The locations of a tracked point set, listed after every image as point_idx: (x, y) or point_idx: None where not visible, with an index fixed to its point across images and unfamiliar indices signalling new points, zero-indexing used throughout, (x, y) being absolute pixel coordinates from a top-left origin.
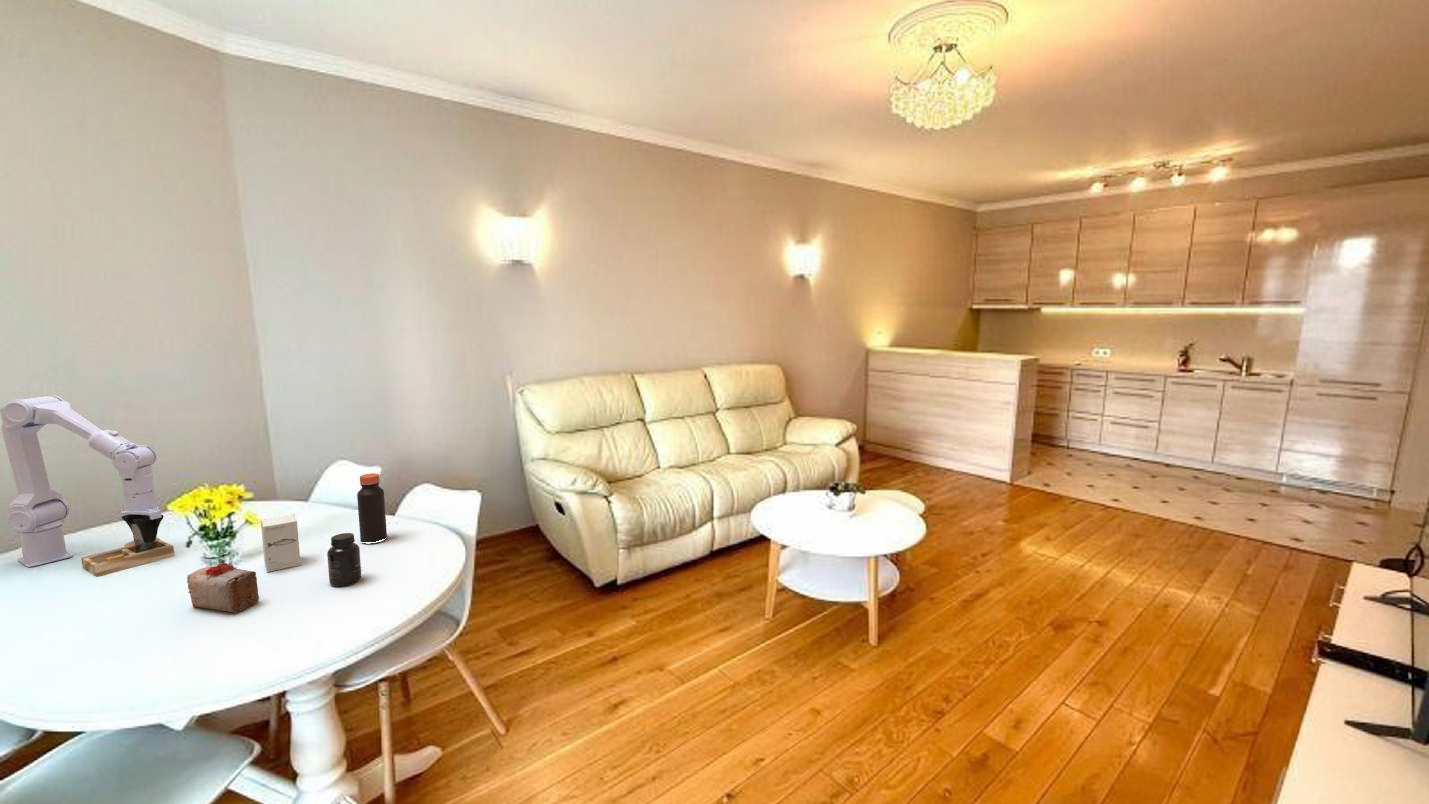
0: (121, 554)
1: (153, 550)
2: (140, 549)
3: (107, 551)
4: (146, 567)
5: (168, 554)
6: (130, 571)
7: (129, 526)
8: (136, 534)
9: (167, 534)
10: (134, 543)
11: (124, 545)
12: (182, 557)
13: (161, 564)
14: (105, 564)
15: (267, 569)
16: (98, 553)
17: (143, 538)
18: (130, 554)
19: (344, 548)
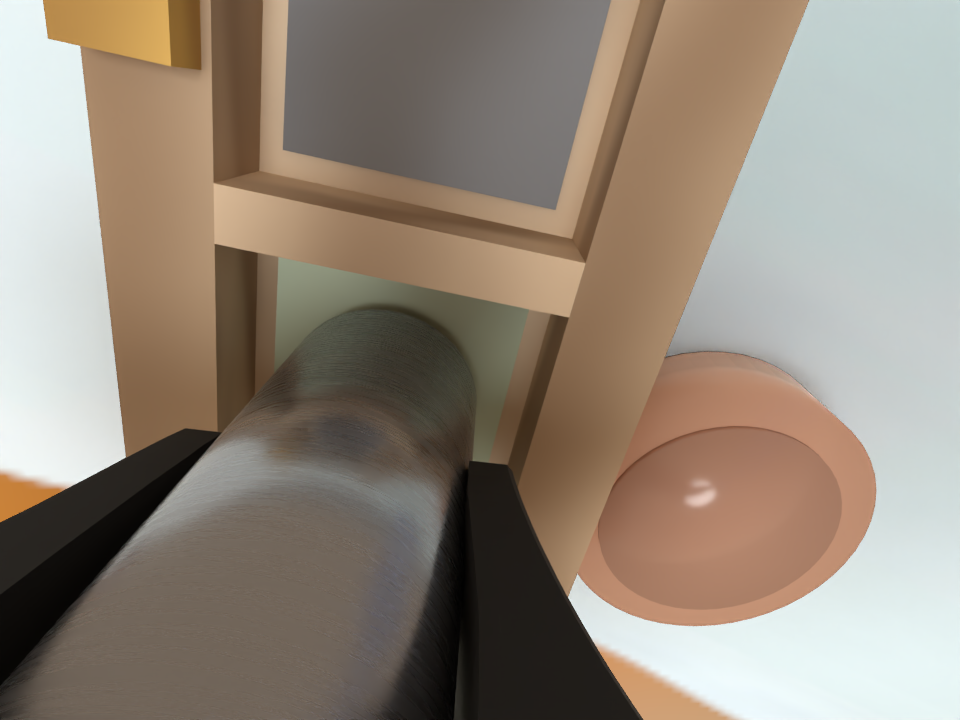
0: (160, 54)
1: (147, 385)
2: (301, 344)
3: (734, 147)
4: (41, 177)
5: None
6: (34, 22)
7: (597, 691)
8: (200, 494)
9: (826, 692)
10: (373, 373)
11: (824, 412)
12: (84, 450)
13: (20, 285)
14: None
15: None
16: (791, 22)
17: (129, 466)
18: (227, 190)
19: None
